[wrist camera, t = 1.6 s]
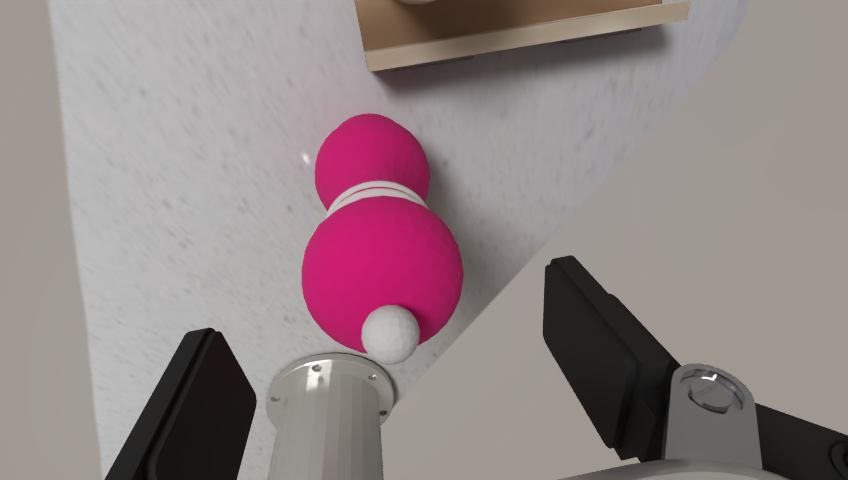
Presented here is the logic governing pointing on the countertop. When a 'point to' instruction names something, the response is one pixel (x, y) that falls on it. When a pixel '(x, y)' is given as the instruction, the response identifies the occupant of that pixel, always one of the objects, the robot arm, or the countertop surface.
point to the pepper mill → (379, 244)
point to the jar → (416, 2)
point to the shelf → (494, 26)
